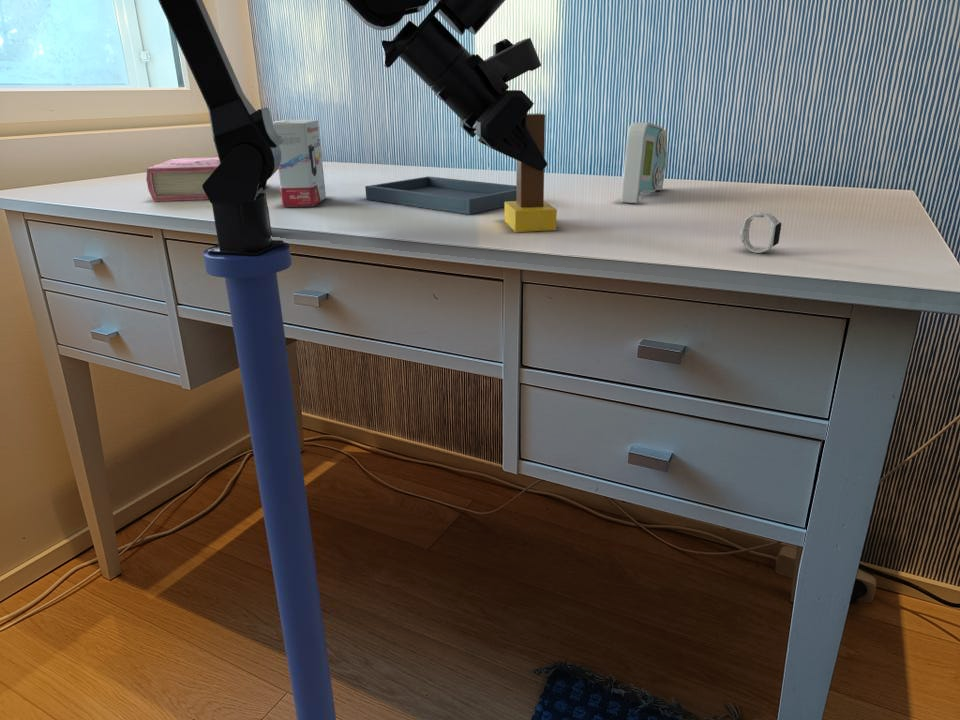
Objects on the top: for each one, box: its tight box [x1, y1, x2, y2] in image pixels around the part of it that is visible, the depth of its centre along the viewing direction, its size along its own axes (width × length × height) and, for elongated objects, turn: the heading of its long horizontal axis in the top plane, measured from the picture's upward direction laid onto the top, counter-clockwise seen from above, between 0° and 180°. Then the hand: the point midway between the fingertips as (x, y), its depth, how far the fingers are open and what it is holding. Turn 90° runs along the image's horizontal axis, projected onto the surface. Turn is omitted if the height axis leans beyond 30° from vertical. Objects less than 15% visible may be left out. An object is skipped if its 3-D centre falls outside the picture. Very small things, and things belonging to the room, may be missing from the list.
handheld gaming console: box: [620, 121, 669, 205], centre depth 103 cm, size 11×3×15 cm
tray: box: [364, 175, 516, 215], centre depth 103 cm, size 22×14×2 cm, turn 49°
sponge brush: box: [504, 112, 558, 233], centre depth 82 cm, size 5×7×13 cm
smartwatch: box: [739, 211, 782, 254], centre depth 70 cm, size 4×2×4 cm, turn 52°
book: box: [145, 156, 220, 202], centre depth 114 cm, size 14×15×5 cm
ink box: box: [272, 119, 327, 208], centre depth 102 cm, size 9×5×12 cm, turn 179°
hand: (541, 166), depth 82 cm, fingers closed on sponge brush, 3 cm apart
